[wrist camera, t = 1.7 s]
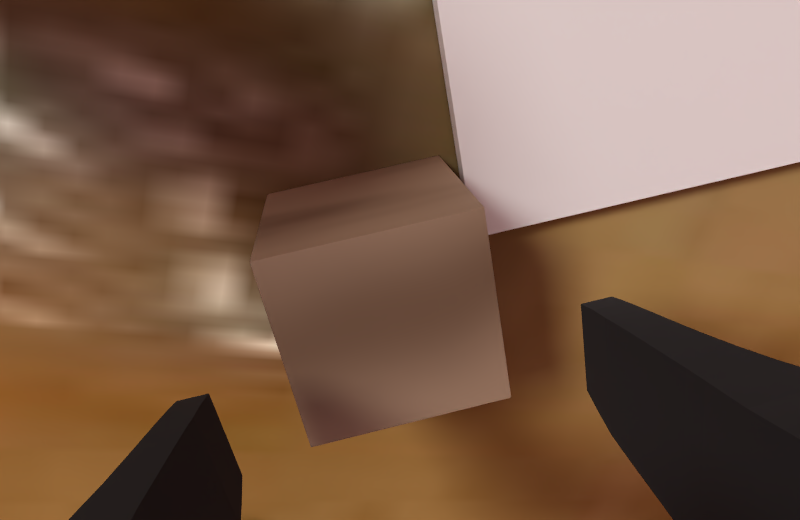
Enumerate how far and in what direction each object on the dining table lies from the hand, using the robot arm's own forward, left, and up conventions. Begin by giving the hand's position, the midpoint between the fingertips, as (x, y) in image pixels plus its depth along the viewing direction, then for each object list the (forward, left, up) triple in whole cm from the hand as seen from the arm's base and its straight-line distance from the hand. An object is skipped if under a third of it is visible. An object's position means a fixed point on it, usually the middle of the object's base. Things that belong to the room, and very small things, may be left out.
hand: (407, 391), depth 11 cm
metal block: (0, 0, -7) cm, 7 cm away
